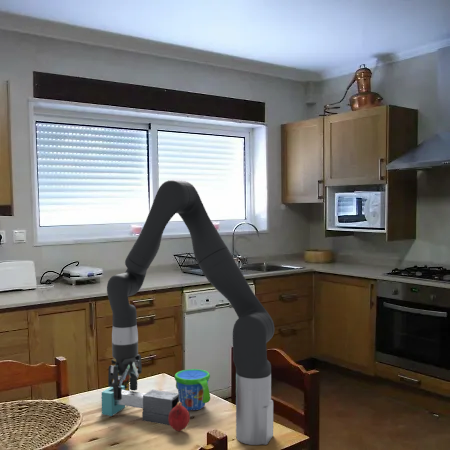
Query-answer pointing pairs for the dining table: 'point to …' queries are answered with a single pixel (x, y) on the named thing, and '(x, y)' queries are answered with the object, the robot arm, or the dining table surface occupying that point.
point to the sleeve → (158, 406)
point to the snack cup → (193, 388)
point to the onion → (179, 417)
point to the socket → (110, 402)
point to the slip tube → (131, 399)
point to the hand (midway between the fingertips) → (125, 394)
